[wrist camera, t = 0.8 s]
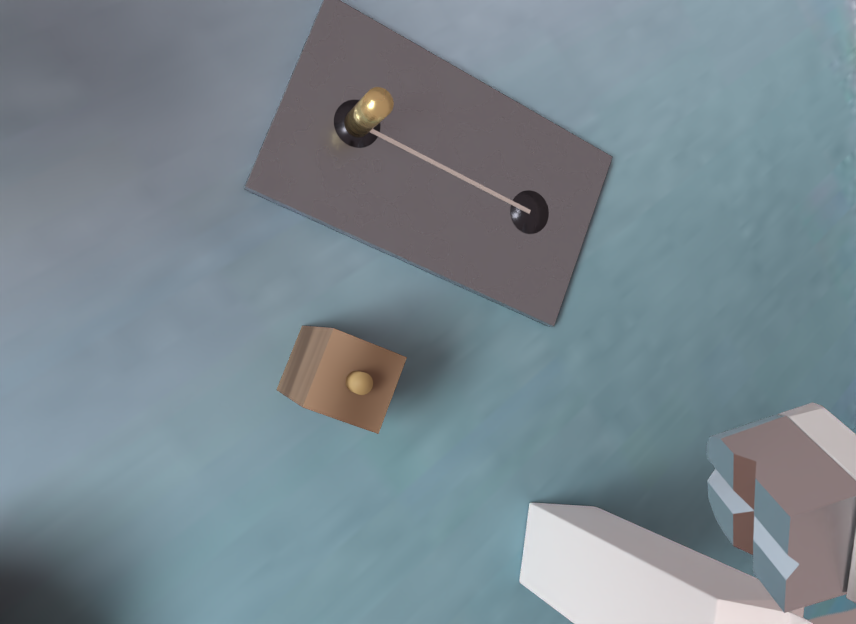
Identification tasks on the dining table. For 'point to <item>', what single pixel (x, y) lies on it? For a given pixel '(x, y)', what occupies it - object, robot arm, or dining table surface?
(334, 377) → the walnut peg
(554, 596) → the milk
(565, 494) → the dining table surface
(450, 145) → the bolt plate
